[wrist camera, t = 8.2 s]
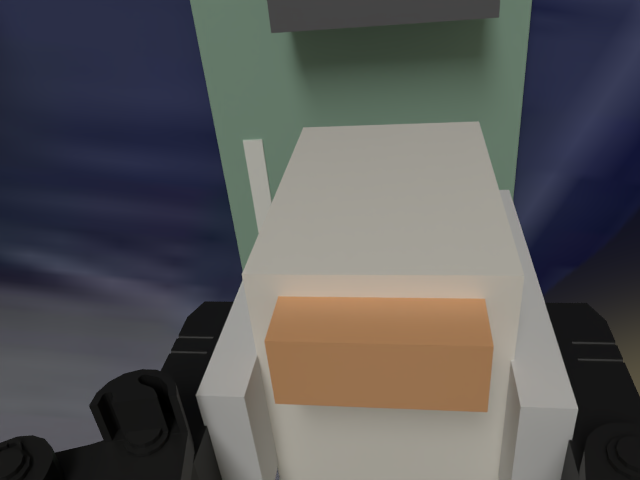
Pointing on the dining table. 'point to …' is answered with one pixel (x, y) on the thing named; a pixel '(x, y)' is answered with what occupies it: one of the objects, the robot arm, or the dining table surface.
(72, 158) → the dining table surface
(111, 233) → the dining table surface
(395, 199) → the plug
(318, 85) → the board
